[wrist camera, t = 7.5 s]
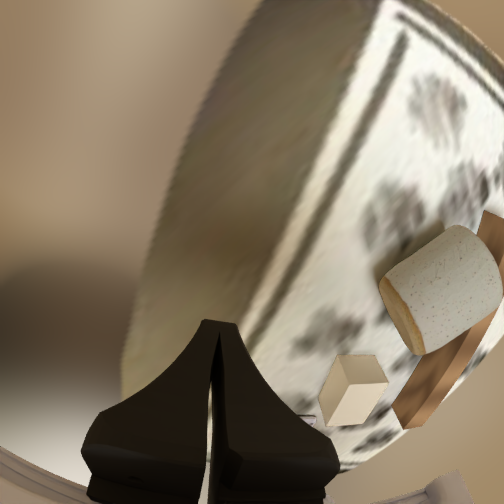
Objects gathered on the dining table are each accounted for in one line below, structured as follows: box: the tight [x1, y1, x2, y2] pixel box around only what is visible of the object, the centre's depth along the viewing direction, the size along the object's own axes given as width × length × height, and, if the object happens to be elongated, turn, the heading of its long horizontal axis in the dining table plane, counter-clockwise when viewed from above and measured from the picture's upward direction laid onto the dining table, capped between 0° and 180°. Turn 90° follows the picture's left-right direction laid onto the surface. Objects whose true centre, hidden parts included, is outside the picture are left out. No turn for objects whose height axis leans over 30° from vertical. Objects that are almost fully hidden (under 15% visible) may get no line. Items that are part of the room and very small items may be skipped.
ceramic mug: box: [379, 225, 503, 355], centre depth 19 cm, size 11×8×8 cm
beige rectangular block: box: [318, 355, 389, 427], centre depth 24 cm, size 6×4×4 cm, turn 171°
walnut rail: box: [391, 210, 504, 430], centre depth 23 cm, size 24×3×4 cm, turn 169°
